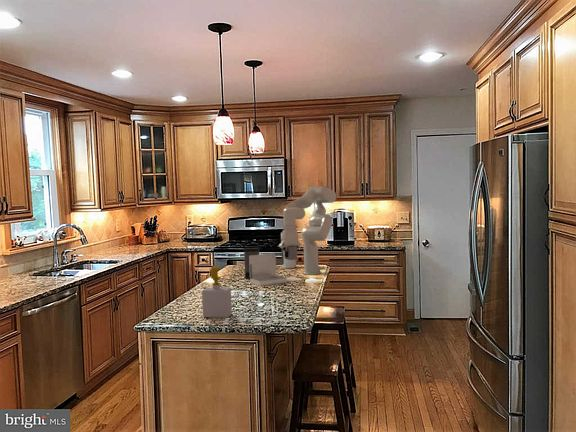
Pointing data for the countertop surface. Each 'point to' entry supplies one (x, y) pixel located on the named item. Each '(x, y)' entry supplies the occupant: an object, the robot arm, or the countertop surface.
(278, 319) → the countertop surface
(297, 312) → the countertop surface
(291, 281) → the flat beige panel
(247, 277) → the electronic device
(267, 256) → the case
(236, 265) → the countertop surface
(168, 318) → the countertop surface
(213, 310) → the soap bottle
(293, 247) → the block
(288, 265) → the speaker
